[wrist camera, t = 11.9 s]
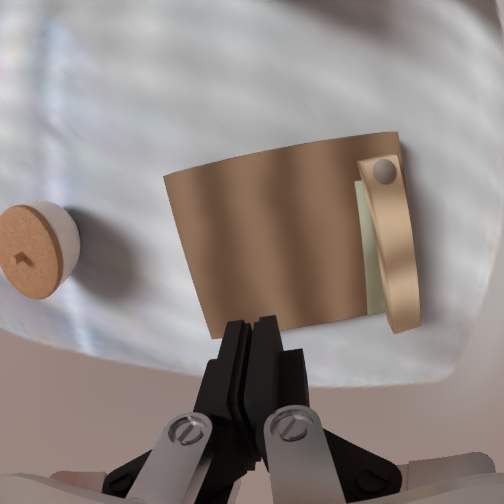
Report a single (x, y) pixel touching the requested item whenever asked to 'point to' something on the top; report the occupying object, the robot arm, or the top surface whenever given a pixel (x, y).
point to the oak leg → (392, 239)
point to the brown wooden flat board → (282, 233)
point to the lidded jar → (38, 247)
